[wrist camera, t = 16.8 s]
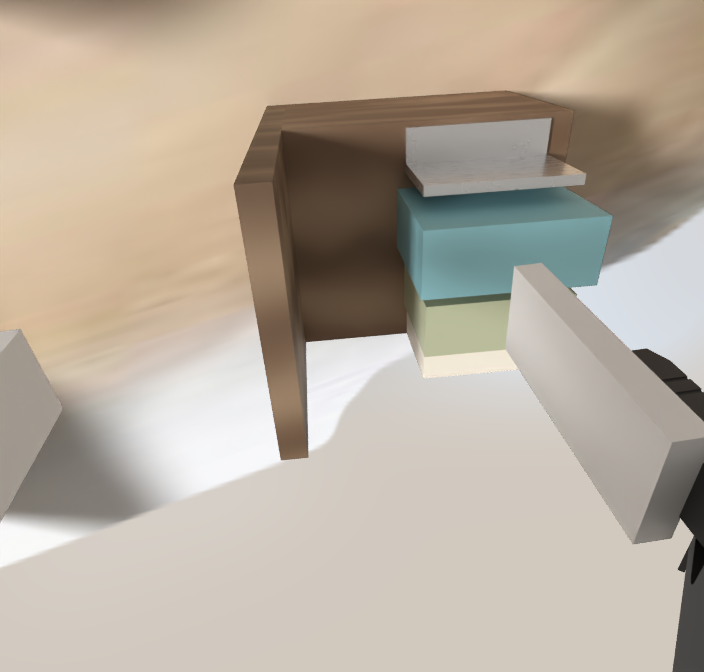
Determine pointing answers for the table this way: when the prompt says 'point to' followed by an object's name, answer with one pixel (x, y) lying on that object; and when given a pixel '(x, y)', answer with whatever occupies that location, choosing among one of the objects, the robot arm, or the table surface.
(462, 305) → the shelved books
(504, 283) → the teal book
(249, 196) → the walnut shelf
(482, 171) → the bookend
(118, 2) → the table surface
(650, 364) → the robot arm
